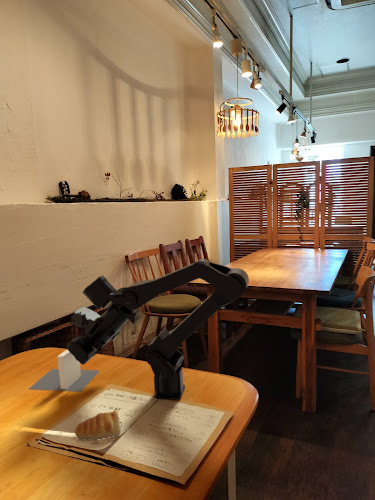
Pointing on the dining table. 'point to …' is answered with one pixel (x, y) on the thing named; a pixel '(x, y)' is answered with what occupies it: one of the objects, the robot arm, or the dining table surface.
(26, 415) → the dining table surface
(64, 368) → the tile
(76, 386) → the mat
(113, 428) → the pastry
